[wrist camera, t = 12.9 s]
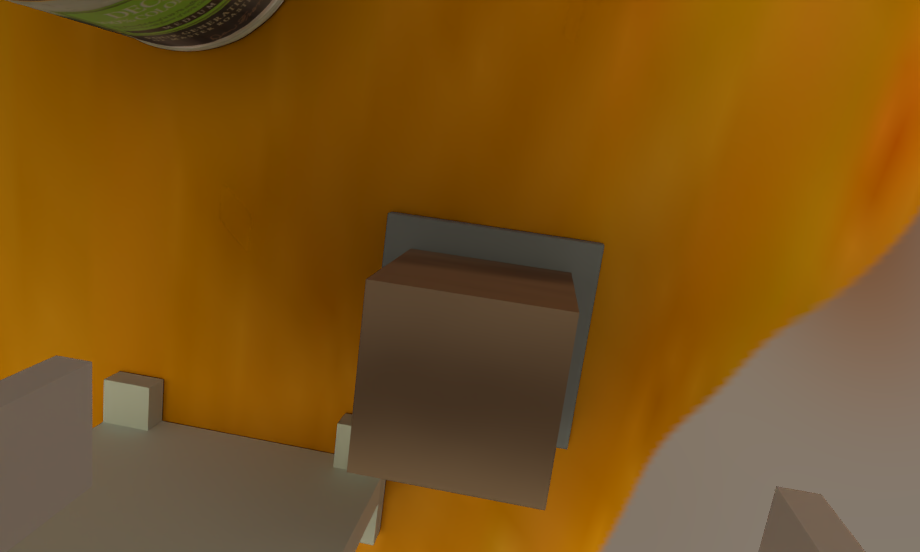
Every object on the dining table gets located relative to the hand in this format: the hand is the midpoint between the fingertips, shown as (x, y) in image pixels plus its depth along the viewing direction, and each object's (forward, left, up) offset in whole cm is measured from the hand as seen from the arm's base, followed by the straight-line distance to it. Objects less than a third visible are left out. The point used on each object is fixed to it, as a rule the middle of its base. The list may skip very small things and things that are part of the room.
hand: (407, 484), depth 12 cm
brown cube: (+1, 0, -12) cm, 12 cm away
